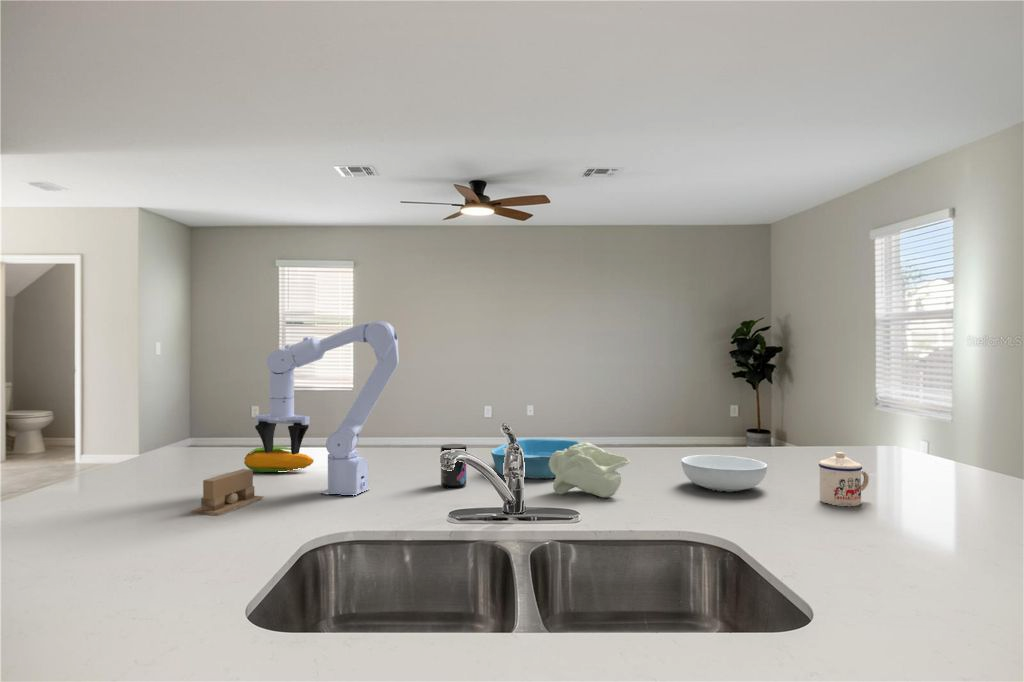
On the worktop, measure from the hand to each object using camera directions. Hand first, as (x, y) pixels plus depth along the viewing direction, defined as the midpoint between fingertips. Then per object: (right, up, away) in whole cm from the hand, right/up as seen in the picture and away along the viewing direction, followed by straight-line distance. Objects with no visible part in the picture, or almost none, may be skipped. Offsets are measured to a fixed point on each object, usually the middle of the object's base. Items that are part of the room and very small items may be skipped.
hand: (282, 452), depth 161 cm
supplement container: (+42, -10, +7) cm, 44 cm away
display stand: (-8, -10, -12) cm, 18 cm away
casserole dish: (+65, -10, +30) cm, 72 cm away
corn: (-9, -10, +25) cm, 29 cm away
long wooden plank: (-8, -7, -12) cm, 16 cm away
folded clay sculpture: (+76, -10, -1) cm, 77 cm away
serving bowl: (+111, -10, +6) cm, 112 cm away
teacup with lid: (+135, -10, -9) cm, 136 cm away
